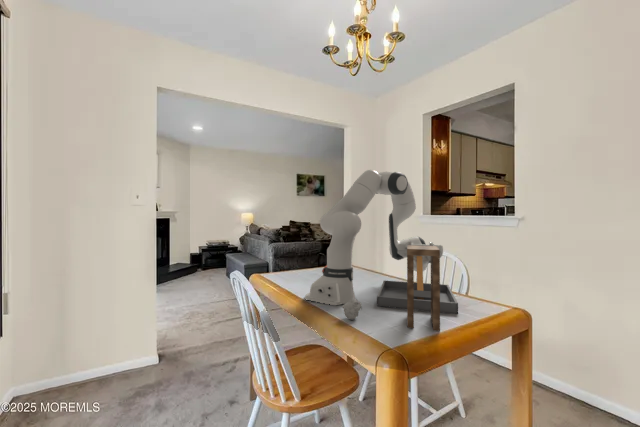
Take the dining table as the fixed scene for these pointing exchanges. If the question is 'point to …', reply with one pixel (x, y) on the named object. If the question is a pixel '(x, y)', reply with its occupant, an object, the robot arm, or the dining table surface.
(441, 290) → the tray
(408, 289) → the frame
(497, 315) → the dining table surface
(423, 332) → the dining table surface
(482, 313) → the dining table surface
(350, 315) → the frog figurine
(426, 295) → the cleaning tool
